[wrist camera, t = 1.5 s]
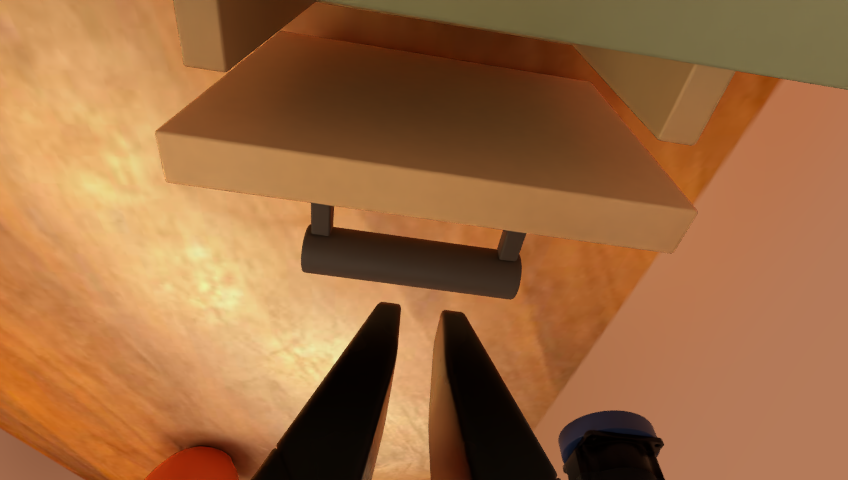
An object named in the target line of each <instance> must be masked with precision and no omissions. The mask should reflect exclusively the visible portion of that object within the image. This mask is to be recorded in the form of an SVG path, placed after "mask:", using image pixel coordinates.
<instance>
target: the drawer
mask: <svg viewBox="0 0 848 480" xmlns="http://www.w3.org/2000/svg"><path fill="white" fill-rule="evenodd" d="M314 2H319V3H325V4H331V5H337V6H343V7H349V8H355V9H360V10H366V11H372V12H378V13H384V14H390V15H396V16H402V17H408V18H414V19H419V20H425V21H431V22H437V23H443V24H449V25H455V26H461V27H467V28H473V29H479V30H484V31H490V32H496V33H502V34H508V35H514V36H520V37H526V38H532V39H538V40H543V41H549V42H555V43H561V44H567V45H572V46H573V47H574V48H575V49H576V50H577V51H578V52H579V53H580V54H581V56H582V57H583V58H584V59H585V60H586V61H587V62H588V63H589V64H590V65H591V67H592V68H593V69H594V70H595V71H596V72H597V73H598V74H599V75H600V76H601V78H602V79H603V80H604V81H605V82H606V83H607V84H608V85H609V86H610V87H611V89H612V90H613V91H614V92H615V93H616V94H617V95H618V96H619V97H620V98H621V99H622V101H623V102H624V103H625V104H626V105H627V106H628V107H629V108H630V109H631V110H632V112H633V113H634V114H635V115H636V116H637V117H638V118H639V119H640V120H641V121H642V123H643V124H644V125H645V126H646V127H647V128H648V129H649V130H650V131H651V132H652V134H653V135H654V136H655V137H656V138H657V139H658V140H660V141H666V142H672V143H679V144H685V145H695V144H696V143H697V141H698V139H699V137H700V135H701V134H702V132H703V130H704V128H705V126H706V124H707V123H708V121H709V119H710V117H711V115H712V114H713V112H714V110H715V108H716V106H717V104H718V103H719V101H720V99H721V97H722V95H723V93H724V92H725V90H726V88H727V86H728V84H729V83H730V81H731V79H732V77H733V75H734V73H735V72H736V71H734V70H728V69H722V68H716V67H710V66H704V65H698V64H692V63H686V62H681V61H675V60H669V59H663V58H657V57H651V56H645V55H639V54H633V53H628V52H622V51H616V50H610V49H604V48H598V47H592V46H586V45H580V44H574V43H569V42H563V41H557V40H551V39H545V38H539V37H533V36H527V35H521V34H516V33H510V32H504V31H498V30H492V29H486V28H480V27H474V26H468V25H463V24H457V23H451V22H445V21H439V20H433V19H427V18H421V17H415V16H409V15H404V14H398V13H392V12H386V11H380V10H374V9H368V8H362V7H356V6H351V5H345V4H339V3H333V2H327V1H321V0H173V3H174V9H175V15H176V21H177V27H178V33H179V39H180V46H181V52H182V58H183V64H184V65H185V66H188V67H194V68H200V69H207V70H213V71H220V72H227V71H228V70H229V69H231V68H232V67H233V66H235V65H236V64H237V63H238V62H240V61H241V60H242V59H243V58H245V57H246V56H247V55H248V54H250V53H251V52H252V51H254V50H255V49H256V48H257V47H259V46H260V45H261V44H262V43H264V42H265V41H266V40H267V39H269V38H270V37H271V36H273V35H274V34H275V33H276V32H278V31H279V30H280V29H281V28H283V27H284V26H285V25H286V24H288V23H289V22H290V21H292V20H293V19H294V18H295V17H297V16H298V15H299V14H300V13H302V12H303V11H304V10H305V9H307V8H308V7H309V6H311V5H312V4H313V3H314ZM155 135H156V140H157V144H158V149H159V153H160V158H161V162H162V167H163V172H164V176H165V180H166V182H168V183H175V184H182V185H189V186H196V187H203V188H210V189H218V190H225V191H232V192H239V193H246V194H253V195H260V196H267V197H274V198H281V199H288V200H295V201H302V202H309V203H311V224H310V225H309V226H308V228H307V230H306V233H305V236H304V240H303V246H302V254H301V267H302V271H303V272H306V273H313V274H321V275H328V276H336V277H344V278H351V279H359V280H366V281H374V282H382V283H389V284H397V285H404V286H412V287H420V288H427V289H435V290H442V291H450V292H458V293H465V294H473V295H480V296H488V297H496V298H503V299H513V298H514V297H515V296H516V294H517V292H518V289H519V285H520V280H521V271H522V265H521V258H520V255H519V253H520V250H521V247H522V244H523V241H524V238H525V236H526V233H529V234H536V235H543V236H550V237H557V238H564V239H571V240H578V241H585V242H592V243H600V244H607V245H614V246H621V247H628V248H635V249H642V250H649V251H656V252H663V253H670V254H671V253H673V252H674V251H675V250H676V248H677V247H678V245H679V243H680V242H681V240H682V238H683V237H684V235H685V233H686V232H687V230H688V229H689V227H690V225H691V223H692V222H693V220H694V219H695V217H696V215H697V213H698V211H697V210H696V208H695V207H694V206H693V205H692V204H691V202H690V201H689V200H688V199H687V197H686V196H685V195H684V194H683V193H682V191H681V190H680V189H679V188H678V187H677V185H676V184H675V183H674V182H673V181H672V179H671V178H670V177H669V176H668V175H667V173H666V172H665V171H664V170H663V169H662V167H661V166H660V165H659V164H658V162H657V161H656V160H655V159H654V158H653V156H652V155H651V154H650V153H649V152H648V150H647V149H646V148H645V147H644V146H643V144H642V143H641V142H640V141H639V140H638V138H637V137H636V136H635V135H634V134H633V132H632V131H631V130H630V129H629V127H628V126H627V125H626V124H625V123H624V121H623V120H622V119H621V118H620V117H619V115H618V114H617V113H616V112H615V111H614V109H613V108H612V107H611V106H610V105H609V103H608V102H607V101H606V100H605V98H604V97H603V96H602V95H601V94H600V92H599V91H598V90H597V89H596V88H595V86H594V85H593V84H592V83H591V82H589V81H583V80H577V79H570V78H564V77H558V76H552V75H546V74H540V73H534V72H528V71H522V70H516V69H510V68H504V67H498V66H491V65H485V64H479V63H473V62H467V61H461V60H455V59H449V58H443V57H437V56H431V55H425V54H418V53H412V52H406V51H400V50H394V49H388V48H382V47H376V46H370V45H364V44H358V43H352V42H346V41H339V40H333V39H327V38H321V37H315V36H309V35H303V34H297V33H291V32H285V31H280V32H279V33H277V34H276V35H275V36H274V37H272V38H271V39H270V40H269V41H267V42H266V43H265V44H264V45H262V46H261V47H260V48H259V49H257V50H256V51H255V52H254V53H252V54H251V55H250V56H249V57H247V58H246V59H245V60H244V61H242V62H241V63H240V64H239V65H237V66H236V67H235V68H234V69H232V70H231V71H230V72H229V73H227V74H226V75H225V76H224V77H222V78H221V79H220V80H219V81H217V82H216V83H215V84H214V85H212V86H211V87H210V88H209V89H207V90H206V91H205V92H204V93H202V94H201V95H200V96H199V97H197V98H196V99H195V100H194V101H192V102H191V103H190V104H189V105H187V106H186V107H185V108H184V109H182V110H181V111H180V112H179V113H177V114H176V115H175V116H174V117H172V118H171V119H170V120H169V121H167V122H166V123H165V124H164V125H162V126H161V127H160V128H159V129H157V130H156V132H155ZM334 206H338V207H345V208H352V209H359V210H366V211H373V212H380V213H387V214H394V215H401V216H409V217H416V218H423V219H430V220H437V221H444V222H451V223H458V224H465V225H472V226H479V227H486V228H493V229H500V230H503V232H502V235H501V239H500V242H499V245H498V248H497V249H498V250H496V249H489V248H482V247H474V246H467V245H460V244H453V243H445V242H438V241H431V240H424V239H417V238H409V237H402V236H395V235H388V234H380V233H373V232H366V231H359V230H351V229H344V228H337V227H333V215H334Z"/></svg>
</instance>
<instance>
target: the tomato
mask: <svg viewBox="0 0 848 480" xmlns="http://www.w3.org/2000/svg"><path fill="white" fill-rule="evenodd" d="M144 480H239V477H238V472H237V470H236V468H235V466H234V464H233V462H232V459H231V457H230V456H229V455H228V454H226V453H225V452H223V451H221V450H218V449H216V448H212V447H206V446H196V447H190V448H186V449H184V450H182V451H179V452H177V453H175V454H174V455H172V456H170V457H169V458H168V459H166V460H165V461H164V462H162V463H161V464H160V465H158V466H157V467H156V468H155V469H154V470H153V471H152V472H151V473H150V474H149V475H148V476H147V477H146V478H145V479H144Z"/></svg>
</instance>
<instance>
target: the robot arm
mask: <svg viewBox="0 0 848 480" xmlns="http://www.w3.org/2000/svg"><path fill="white" fill-rule="evenodd" d="M400 314H401V307H400V305H399V304H394V303H386V302H381V303H379V304H378V305H377V306H376V307H375V309H374V310H373V312H372V313H371V314H370V316H369V317H368V319H367V320H366V321H365V323H364V324H363V325H362V327H361V328H360V330H359V331H358V332H357V334H356V335H355V337H354V338H353V339H352V341H351V342H350V343H349V345H348V346H347V348H346V349H345V350H344V352H343V353H342V355H341V356H340V357H339V359H338V360H337V362H336V363H335V364H334V366H333V367H332V368H331V370H330V371H329V373H328V374H327V375H326V377H325V378H324V380H323V381H322V382H321V384H320V385H319V387H318V388H317V389H316V391H315V392H314V393H313V395H312V396H311V398H310V399H309V400H308V402H307V403H306V405H305V406H304V407H303V409H302V410H301V411H300V413H299V414H298V416H297V417H296V418H295V420H294V421H293V423H292V424H291V425H290V427H289V428H288V430H287V431H286V432H285V434H284V435H283V436H282V438H281V439H280V441H279V442H278V443H277V449H276V448H275V449H273V450H272V451H271V453H270V454H269V455H268V457H267V458H266V460H265V461H264V462H263V464H262V465H261V467H260V468H259V469H258V471H257V472H256V473H255V475H254V476H253V477H252V478H251V480H371V479H372V475H373V471H374V467H375V463H376V459H377V455H378V451H379V447H380V442H381V438H382V434H383V430H384V425H385V420H386V415H387V409H388V403H389V397H390V392H391V386H392V380H393V374H394V369H395V363H396V357H397V349H398V337H399V325H400ZM428 426H429V453H430V473H431V480H561V479H559V478H556V477H557V473H556V471H555V469H554V468H553V466H552V464H551V463H550V461H549V459H548V457H547V456H546V454H545V452H544V450H543V449H542V447H541V445H540V443H539V442H538V440H537V438H536V437H535V435H534V433H533V431H532V430H531V428H530V426H529V424H528V423H527V421H526V419H525V418H524V416H523V414H522V412H521V411H520V409H519V407H518V405H517V404H516V402H515V400H514V399H513V397H512V395H511V393H510V392H509V390H508V388H507V387H506V385H505V383H504V381H503V380H502V378H501V376H500V374H499V373H498V371H497V369H496V368H495V366H494V364H493V362H492V361H491V359H490V357H489V355H488V354H487V352H486V350H485V349H484V347H483V345H482V343H481V342H480V340H479V338H478V336H477V335H476V333H475V331H474V330H473V328H472V326H471V324H470V323H469V321H468V319H467V318H466V316H465V314H463V313H462V312H456V311H449V310H444V311H442V313H441V316H440V320H439V324H438V328H437V332H436V336H435V341H434V348H433V361H432V376H431V390H430V404H429V424H428ZM663 446H664V443H663V441H662V439H661V438H658V437H650V436H641V435H632V434H623V433H615V432H606V431H597V430H589V431H586V432H585V434H584V435H583V437H582V438H581V440H580V441H579V443H578V444H577V446H576V447H575V449H574V450H573V452H572V453H571V455H570V456H569V458H568V459H567V461H566V462H565V464H564V465H563V472H564V473H566V474H567V475H568V480H665V478H664V476H663V473H662V471H661V468H660V465H659V463H658V460H657V458H656V454H657V453H658V452H659V451H660V450H661V448H662V447H663Z"/></svg>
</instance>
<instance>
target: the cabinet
mask: <svg viewBox="0 0 848 480" xmlns="http://www.w3.org/2000/svg"><path fill="white" fill-rule="evenodd" d="M321 1H327V2H333V3H339V4H345V5H351V6H356V7H362V8H368V9H374V10H380V11H386V12H392V13H398V14H404V15H409V16H415V17H421V18H427V19H433V20H439V21H445V22H451V23H457V24H463V25H468V26H474V27H480V28H486V29H492V30H498V31H504V32H510V33H516V34H521V35H527V36H533V37H539V38H545V39H551V40H557V41H563V42H569V43H574V44H580V45H586V46H592V47H598V48H604V49H610V50H616V51H622V52H628V53H633V54H639V55H645V56H651V57H657V58H663V59H669V60H675V61H681V62H686V63H692V64H698V65H704V66H710V67H716V68H722V69H728V70H734V71H739V72H745V73H751V74H757V75H763V76H769V77H775V78H781V79H787V80H793V81H798V82H804V83H810V84H817V85H822V86H828V87H834V88H840V89H846V90H848V0H321Z"/></svg>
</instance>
